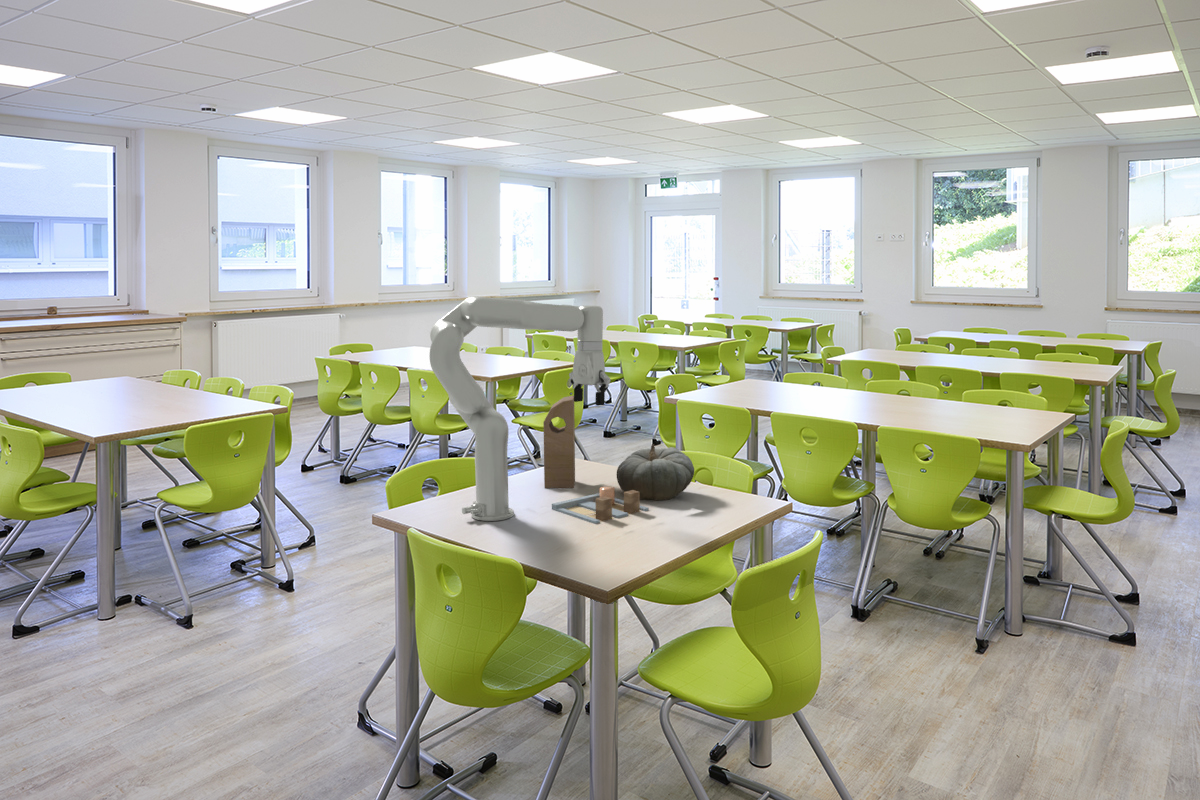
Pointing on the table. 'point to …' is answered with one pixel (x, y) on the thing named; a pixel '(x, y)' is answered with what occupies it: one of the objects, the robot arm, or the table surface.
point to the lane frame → (588, 504)
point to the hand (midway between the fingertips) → (589, 403)
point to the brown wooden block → (603, 509)
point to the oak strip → (629, 502)
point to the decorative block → (560, 446)
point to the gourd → (656, 473)
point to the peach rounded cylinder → (608, 493)
